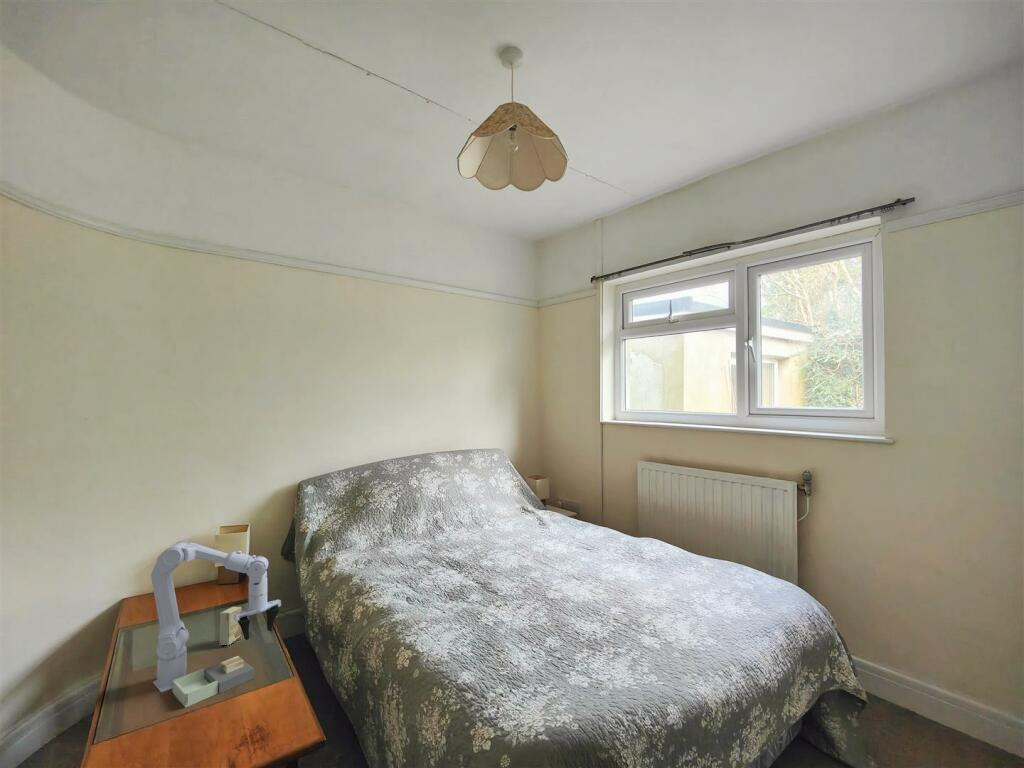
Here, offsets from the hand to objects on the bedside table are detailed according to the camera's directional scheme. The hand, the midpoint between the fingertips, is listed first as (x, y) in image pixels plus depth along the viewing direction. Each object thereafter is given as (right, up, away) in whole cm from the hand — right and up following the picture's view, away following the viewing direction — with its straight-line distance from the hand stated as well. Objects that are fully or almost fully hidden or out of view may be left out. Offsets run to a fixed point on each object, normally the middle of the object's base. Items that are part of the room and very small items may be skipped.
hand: (258, 634), depth 155 cm
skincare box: (-20, -13, +18) cm, 30 cm away
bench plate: (-5, -10, -8) cm, 14 cm away
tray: (-11, -10, -15) cm, 21 cm away
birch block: (-5, -6, -7) cm, 10 cm away
